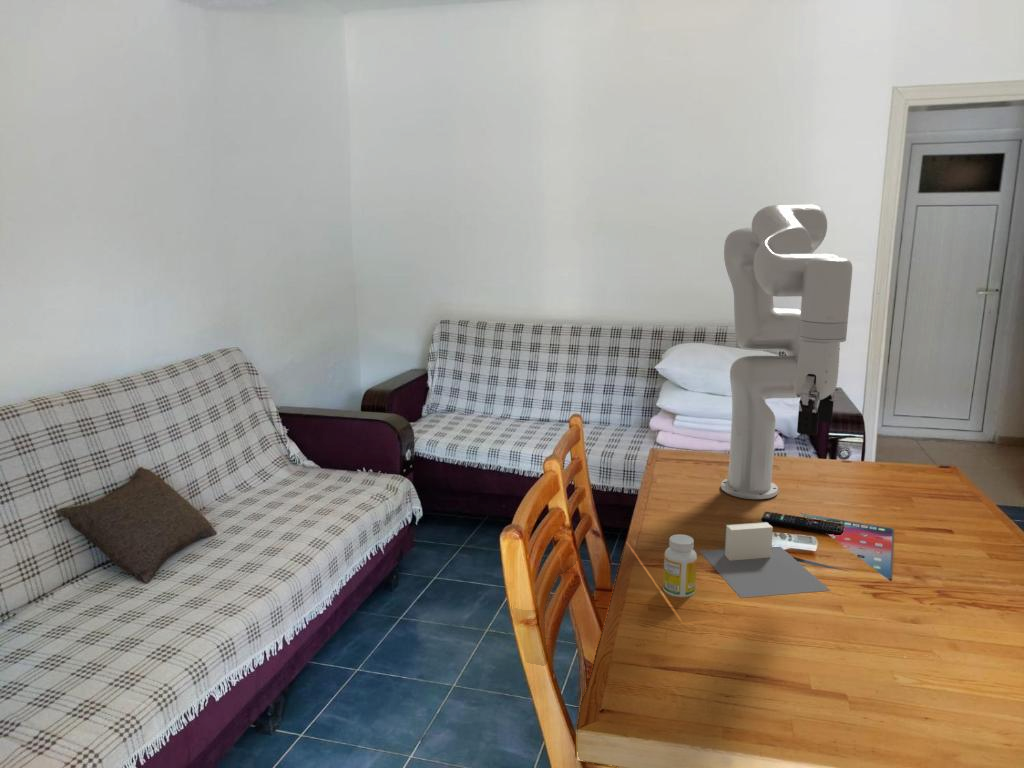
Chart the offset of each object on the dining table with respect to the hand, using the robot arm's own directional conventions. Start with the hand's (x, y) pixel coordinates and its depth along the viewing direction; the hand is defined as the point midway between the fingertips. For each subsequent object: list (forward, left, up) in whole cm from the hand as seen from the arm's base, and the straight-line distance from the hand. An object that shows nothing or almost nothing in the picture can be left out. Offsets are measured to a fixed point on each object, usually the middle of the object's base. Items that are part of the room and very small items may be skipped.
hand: (814, 427), depth 131 cm
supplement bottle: (+6, -26, -26) cm, 37 cm away
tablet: (-7, +11, -27) cm, 30 cm away
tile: (-4, -9, -26) cm, 27 cm away
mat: (+2, -9, -26) cm, 27 cm away
